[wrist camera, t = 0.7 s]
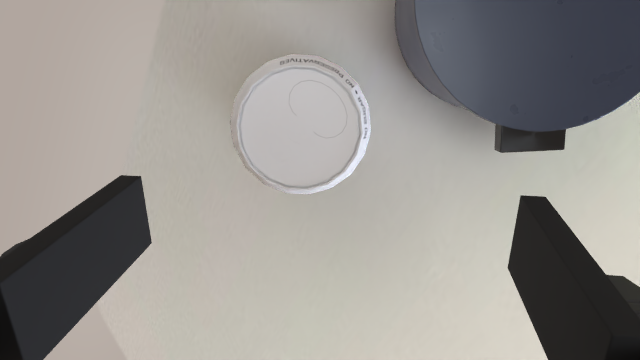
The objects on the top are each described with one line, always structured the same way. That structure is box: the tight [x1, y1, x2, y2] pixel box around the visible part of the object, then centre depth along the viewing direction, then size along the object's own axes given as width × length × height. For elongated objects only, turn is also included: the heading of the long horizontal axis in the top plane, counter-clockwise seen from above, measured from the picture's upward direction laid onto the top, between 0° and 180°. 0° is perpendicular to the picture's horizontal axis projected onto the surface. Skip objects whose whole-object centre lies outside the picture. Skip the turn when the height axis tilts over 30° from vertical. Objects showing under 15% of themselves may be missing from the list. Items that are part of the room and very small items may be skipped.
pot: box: [395, 0, 640, 153], centre depth 33 cm, size 20×17×11 cm
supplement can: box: [230, 54, 371, 194], centre depth 33 cm, size 8×8×15 cm
